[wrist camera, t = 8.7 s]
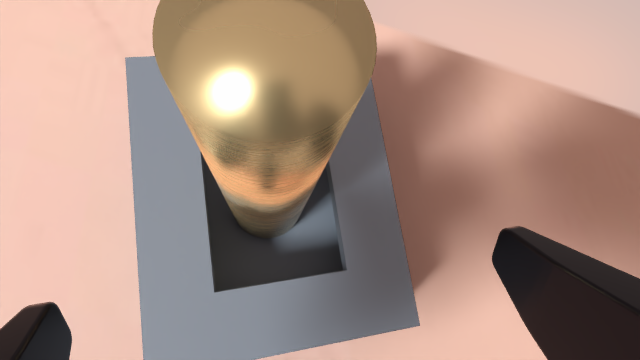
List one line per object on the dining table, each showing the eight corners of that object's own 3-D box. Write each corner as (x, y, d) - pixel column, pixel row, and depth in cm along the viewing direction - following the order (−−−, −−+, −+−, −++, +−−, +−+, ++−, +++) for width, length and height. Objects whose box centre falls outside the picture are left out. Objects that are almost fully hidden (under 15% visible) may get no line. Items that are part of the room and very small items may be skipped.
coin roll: (315, 201, 18) (418, 36, 6) (269, 252, 18) (276, 186, 5) (265, 157, 19) (262, -91, 6) (217, 206, 18) (101, 32, 5)
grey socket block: (388, 315, 18) (420, 325, 15) (166, 359, 16) (144, 382, 13) (346, 82, 21) (365, 46, 17) (147, 95, 19) (125, 57, 15)
